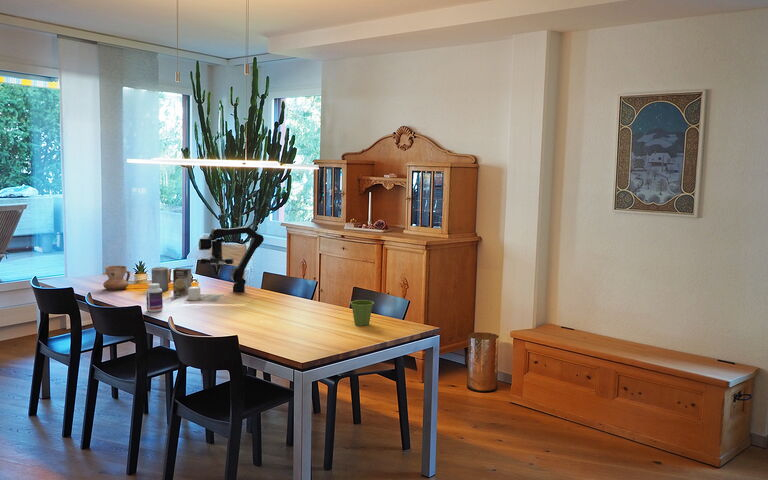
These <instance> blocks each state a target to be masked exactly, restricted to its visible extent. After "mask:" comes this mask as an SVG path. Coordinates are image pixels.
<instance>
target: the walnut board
mask: <svg viewBox="0 0 768 480" xmlns="http://www.w3.org/2000/svg"><path fill="white" fill-rule="evenodd" d="M222 297H224V294H217V293H215V294H211V293H210V294H206V293H205V294H203V293H200V299H199V300H188V298H187V299H185V300H184V302H218V301H219V300H221V298H222Z"/></svg>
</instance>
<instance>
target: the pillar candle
mask: <svg viewBox="0 0 768 480" xmlns="http://www.w3.org/2000/svg"><path fill="white" fill-rule="evenodd" d="M153 283H158V284H160V287H159V288H161V289H162V292H167V291H169V286H170V285H169V268H168V267H163V266H159V267H152V268H151V284H153Z"/></svg>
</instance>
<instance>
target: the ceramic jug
mask: <svg viewBox="0 0 768 480" xmlns="http://www.w3.org/2000/svg"><path fill="white" fill-rule="evenodd" d="M104 268H105V272H103V273H102V275H103V276H105V275H106V276H107V277H108V279H107V280H105V281H104V282H103V287H104V289H106V290H109V291H121V290H125V289H127V288H128V287H129V284H130V283H129V282H128V281H129V280H130V277H131V272H130V271H129V269H127V266H126V265H119V264H118V265H108V266H104ZM126 274H127V275H126ZM125 275H126V278H125V279H124V277H125ZM127 286H128V287H127ZM126 287H127V288H126ZM124 288H125V289H124Z"/></svg>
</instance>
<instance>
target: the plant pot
mask: <svg viewBox="0 0 768 480" xmlns="http://www.w3.org/2000/svg"><path fill="white" fill-rule="evenodd" d="M349 304H350V305H351V309H352V315H353V321H354V325H356V326H357V327H363V326H365V327H367V326H369V325H370V321H371V316H372V310H373V306H374V304H375V302H374V301H372V300H367V299H357V300H356V299H355V300H353V301H350V302H349Z"/></svg>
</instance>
